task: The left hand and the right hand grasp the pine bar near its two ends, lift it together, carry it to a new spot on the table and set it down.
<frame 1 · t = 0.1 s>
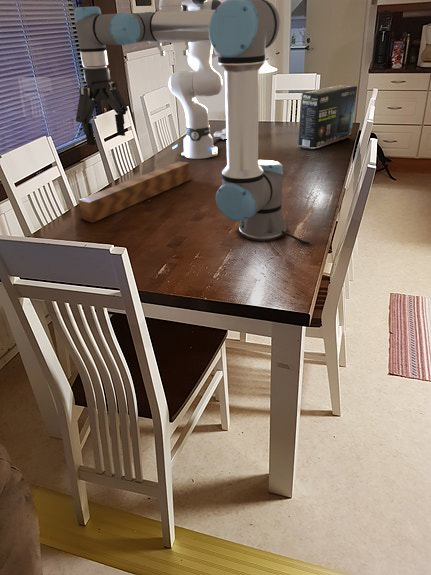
left hand: (174, 55, 182), 48 cm above the table, tool pointing down, fingers open, 8 cm apart
right hand: (106, 140, 148), 28 cm above the table, tool pointing down, fingers open, 13 cm apart
bar: (141, 197, 182), on the table
router box: (325, 143, 245), on the table
fossil: (229, 138, 262), on the table
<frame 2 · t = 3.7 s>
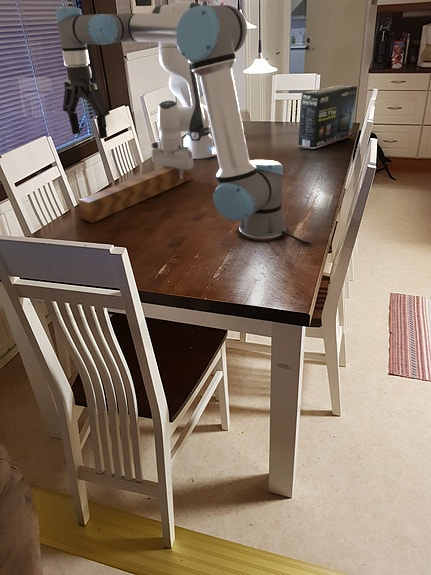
left hand: (173, 177, 194), 3 cm above the table, tool pointing down, fingers closed on bar, 5 cm apart
right hand: (89, 135, 154), 28 cm above the table, tool pointing down, fingers open, 13 cm apart
bar: (141, 197, 182), on the table, touching left hand
everything else where it was.
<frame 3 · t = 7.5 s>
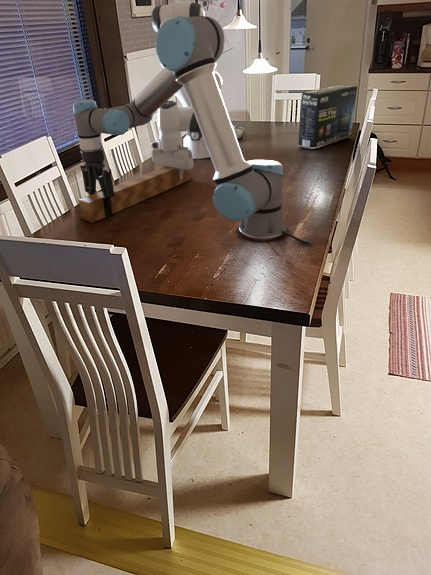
left hand: (173, 177, 194), 3 cm above the table, tool pointing down, fingers closed on bar, 5 cm apart
right hand: (103, 212, 168), 1 cm above the table, tool pointing down, fingers closed on bar, 6 cm apart
bar: (141, 197, 182), on the table, touching right hand, left hand
everything else where it was.
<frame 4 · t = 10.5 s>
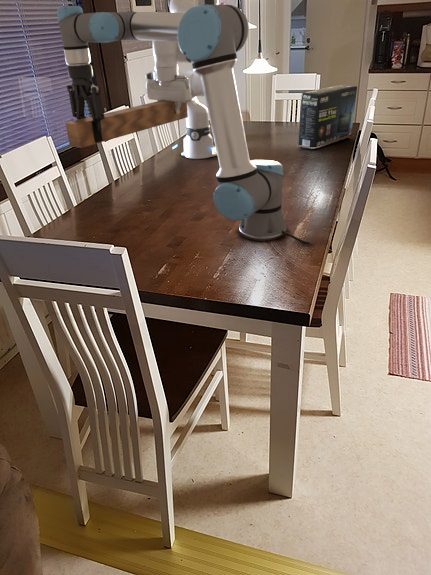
left hand: (170, 113, 181), 29 cm above the table, tool pointing down, fingers closed on bar, 5 cm apart
right hand: (92, 140, 154), 27 cm above the table, tool pointing down, fingers closed on bar, 6 cm apart
bar: (134, 130, 169), point 26 cm above the table, touching right hand, left hand
everything else where it was.
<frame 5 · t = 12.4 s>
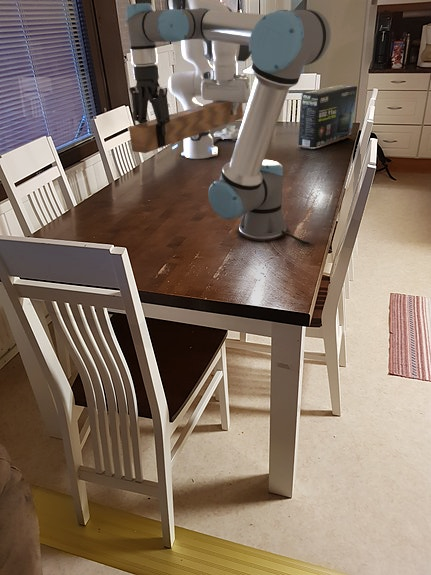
left hand: (225, 113, 173), 29 cm above the table, tool pointing down, fingers closed on bar, 5 cm apart
right hand: (154, 144, 147), 26 cm above the table, tool pointing down, fingers closed on bar, 6 cm apart
bar: (193, 132, 161), point 26 cm above the table, touching right hand, left hand
everything else where it was.
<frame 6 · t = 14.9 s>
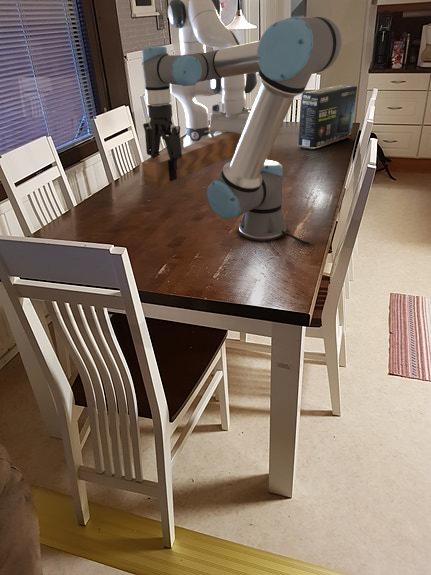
left hand: (234, 144, 178), 18 cm above the table, tool pointing down, fingers closed on bar, 5 cm apart
right hand: (166, 178, 152), 16 cm above the table, tool pointing down, fingers closed on bar, 6 cm apart
bar: (203, 164, 166), point 15 cm above the table, touching right hand, left hand
everything else where it was.
when the right hand's fingers open (2 cm above the table, at t = 17.3 s): bar drops 1 cm, on the table.
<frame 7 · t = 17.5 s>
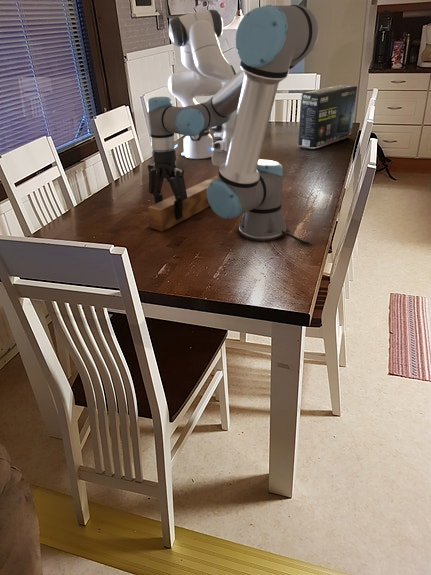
left hand: (234, 179, 185), 4 cm above the table, tool pointing down, fingers closed on bar, 6 cm apart
right hand: (169, 215, 158), 2 cm above the table, tool pointing down, fingers open, 8 cm apart
bar: (205, 204, 173), on the table, touching left hand
everything else where it was.
when the left hand's fingers open (4 cm above the table, at t = 17.5 s): bar stays where it is, on the table.
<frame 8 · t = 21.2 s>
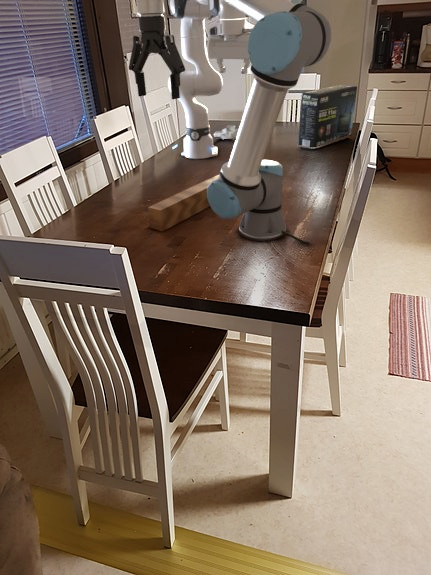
left hand: (233, 73, 165), 43 cm above the table, tool pointing down, fingers open, 8 cm apart
right hand: (158, 97, 139), 41 cm above the table, tool pointing down, fingers open, 13 cm apart
bar: (205, 204, 173), on the table
everything else where it was.
at the end: bar inside the target area (0.2 cm from its centre), on the table; bar tilted 0°; bar never tilted more than 2° during the clip; both hands held the bar at the same time; the left hand is holding nothing; the right hand is holding nothing; bar at rest at the end (0.0 cm/s) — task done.
